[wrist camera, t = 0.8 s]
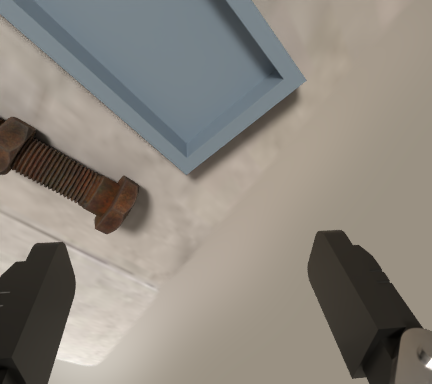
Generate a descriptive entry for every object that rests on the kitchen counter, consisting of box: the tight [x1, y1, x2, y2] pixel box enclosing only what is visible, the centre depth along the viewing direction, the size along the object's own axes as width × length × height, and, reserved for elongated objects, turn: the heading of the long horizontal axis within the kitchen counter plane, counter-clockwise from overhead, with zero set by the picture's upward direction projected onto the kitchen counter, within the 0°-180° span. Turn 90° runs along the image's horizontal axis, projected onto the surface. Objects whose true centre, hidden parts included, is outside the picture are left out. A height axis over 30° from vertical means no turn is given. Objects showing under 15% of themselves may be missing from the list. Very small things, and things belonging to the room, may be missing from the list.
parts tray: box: [0, 0, 307, 175], centre depth 22 cm, size 12×21×3 cm, turn 41°
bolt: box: [0, 117, 139, 234], centre depth 27 cm, size 6×5×15 cm
